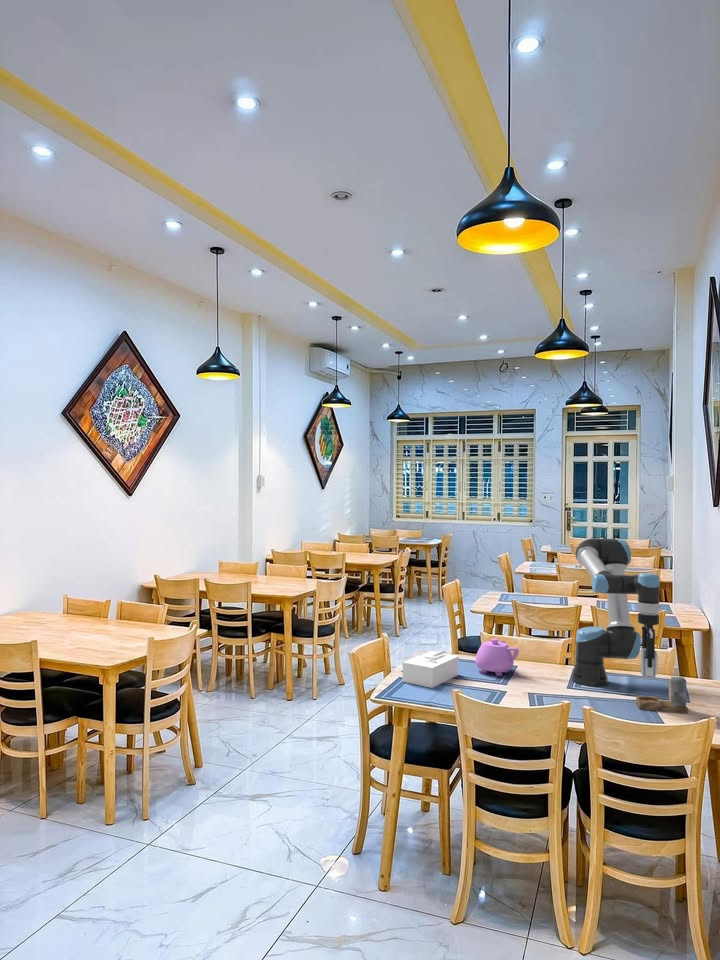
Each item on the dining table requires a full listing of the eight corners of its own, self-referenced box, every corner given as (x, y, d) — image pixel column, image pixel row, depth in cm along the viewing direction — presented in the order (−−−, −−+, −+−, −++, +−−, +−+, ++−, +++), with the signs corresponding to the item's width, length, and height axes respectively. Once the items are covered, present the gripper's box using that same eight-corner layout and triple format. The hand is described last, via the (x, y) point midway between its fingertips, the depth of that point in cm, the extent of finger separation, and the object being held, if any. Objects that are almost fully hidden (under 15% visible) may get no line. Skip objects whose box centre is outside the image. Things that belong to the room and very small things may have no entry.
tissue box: (402, 682, 280) (402, 656, 280) (430, 669, 300) (430, 646, 301) (432, 688, 272) (432, 662, 272) (458, 675, 292) (458, 650, 292)
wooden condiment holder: (639, 709, 249) (639, 677, 249) (636, 703, 256) (636, 672, 256) (687, 713, 245) (688, 681, 245) (683, 707, 252) (683, 676, 252)
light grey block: (643, 676, 250) (643, 650, 250) (641, 673, 254) (641, 647, 255) (657, 677, 249) (657, 651, 249) (655, 674, 253) (655, 648, 253)
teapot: (527, 670, 302) (527, 637, 302) (512, 680, 285) (513, 646, 285) (486, 663, 312) (487, 632, 313) (470, 672, 295) (471, 639, 296)
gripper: (663, 618, 243) (663, 680, 242) (654, 610, 260) (654, 668, 259) (642, 616, 245) (641, 679, 244) (634, 609, 262) (633, 667, 261)
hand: (648, 673), depth 252 cm, fingers closed on light grey block, 4 cm apart
